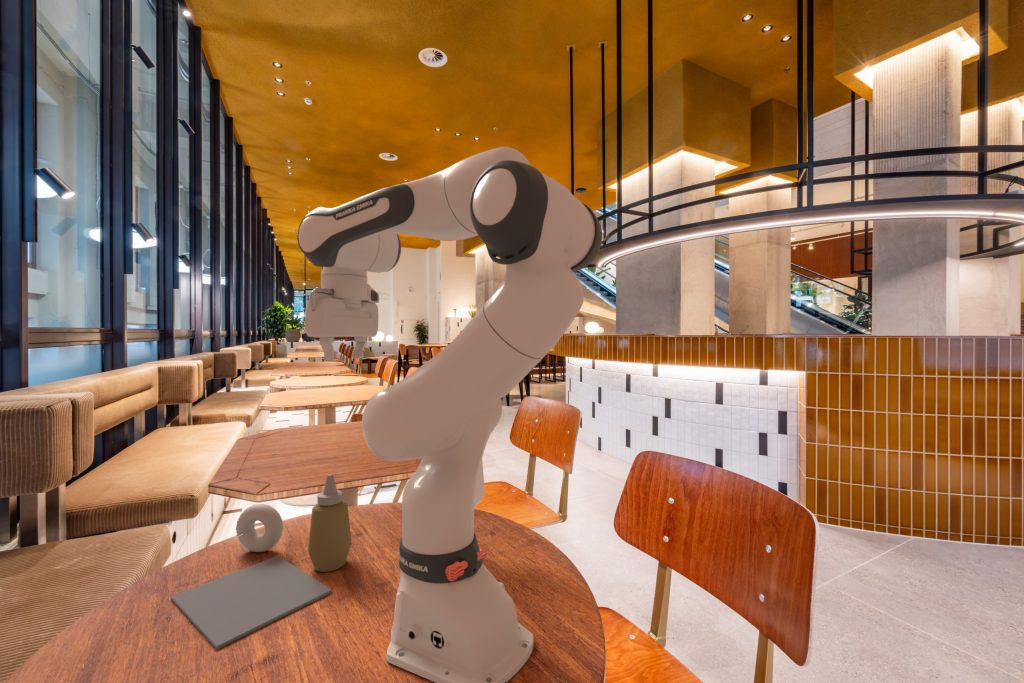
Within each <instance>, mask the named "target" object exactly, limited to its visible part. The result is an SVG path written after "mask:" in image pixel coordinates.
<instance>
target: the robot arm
mask: <svg viewBox="0 0 1024 683" xmlns="http://www.w3.org/2000/svg"><path fill="white" fill-rule="evenodd" d="M296 235H297V238H296V239H297V244H298V246H299V249H300V251H301V253H302V254H303V256H304V257H306V258H307V260H308V261H309V262H310V263H311V264H312V265H313V266H315V267H317V268H319V267H320V268H321V267H322V269H321V272H320V287H319V286H318V287H315V288H314V289H313V290H311V292H309V298H308V301H307V303H306V307H305V308H306V309H305V317H304V332H305V334H306V335H307V337H309V338H312V337H313V338H319V344H320V347H321V350H322V352H323V359H324V360H323V361H325V362H333V361H334V362H335V361H337V360H338V358H337V355H338V352H337V351H335V349H334V346H333V344H334V343H335V341H334V340H335V337H336V338H345V337H346V338H350V337H351V338H354V342H355V344H354V345H355V346H354V349H352V350H351V351H352V352H351V353H352V355H351V357H352V358H353V359H357V360H359V359H363V358H364V350H365V347H366V344H367V342H368V339H367V338H371V337H373V338H374V337H376V335H377V334H378V332H379V308H378V305H377V304H379V303H380V294H379V292H377V291H376V290H375V289H374V288H373V287H372V286H371V285H370V284H369V283H368V272H370V273H377V274H378V273H388V272H389V271H391V270H393V269H394V268H395V266H396V265H398V262H399V261H400V257H401V253H402V244H401V239H400V236H399V235H405V236H407V235H409V236H413V237H419V238H424V239H428V240H429V239H430V240H436V241H442V242H454V241H462V240H467V239H471V238H474V237H476V236H479V238H480V240H481V241H482V242H483V243H484V244H485V247H486V249H487V253H488V256H489V258H490V259H491V261H492V262H493V263H496V264H498V265H502V266H503V265H505V274H504V278H503V280H502V282H501V283H500V285H499V286H498V288H497V289H496V290H495V291H494V292H493V293H492V295H491V296H490V297H489V298H488V299H487V300H486V301H485V303H484V304H483V305H482V306H481V308H480V309H479V310H478V311H477V312H476V314H474V316H473V317H472V318H471V319H470V320H469V322H468V323H467V324H466V325H465V327H464V328H462V330H461V331H460V333H458V334H457V336H456V337H455V338H454V339H453V340H452V341H451V342H450V343H449V344H448V345H446V346H445V347H444V348H443V349H441V350H440V351H439V352H438V353H436V354H435V355H434V356H432V358H430V359H428V360H427V361H426V362H424V363H423V364H422V365H421V366H419V367H417V368H416V370H414V371H413V372H412V373H410V374H409V375H407V376H406V377H404V378H403V379H402V380H401V379H400V381H399V382H396V383H395V384H393V385H391V386H390V387H387V388H386V389H383V390H381V391H379V392H376V393H375V394H374V395H372V396H371V398H369V399H368V401H367V403H366V404H365V407H364V410H363V412H362V416H361V418H362V419H361V430H362V431H361V432H362V435H363V438H364V441H365V443H366V445H367V447H368V448H369V449H370V451H371V452H372V453H373V454H374V455H375V456H376V457H377V458H379V459H380V460H383V461H390V462H391V461H395V462H396V461H410V460H411V461H414V460H419V459H421V461H420V463H419V465H418V467H417V468H416V470H415V472H414V474H412V476H411V477H410V479H408V481H407V483H406V485H405V486H404V489H403V493H402V499H401V500H402V504H401V505H402V506H401V508H402V510H401V511H402V513H401V515H402V520H401V521H402V523H401V524H402V525H401V526H402V528H401V532H402V533H401V534H402V536H401V538H400V540H399V549H398V554H397V555H398V565H399V569H400V578H399V582H398V587H397V591H396V593H395V594H396V595H395V603H394V605H395V606H394V612H393V622H392V627H391V630H390V642H389V644H388V647H387V651H386V657H385V659H386V661H387V663H389V664H392V665H394V666H396V667H398V668H400V669H402V670H405V671H407V672H410V673H413V674H415V675H417V676H420V677H421V678H425V679H427V680H429V681H431V682H434V683H505V682H506V683H508V682H509V681H510V680H511V679H512V677H514V676H515V675H516V674H518V672H519V671H520V670H521V669H522V667H524V665H525V664H526V663H527V661H529V658H530V657H531V654H532V652H533V650H534V646H535V645H534V644H535V643H534V642H535V640H534V634H533V633H532V632H531V631H530V630H529V629H527V628H526V627H524V626H523V625H522V624H521V623H519V621H518V612H517V608H516V604H515V602H514V600H513V598H512V597H511V596H510V595H509V594H508V593H507V590H506V586H505V584H504V583H503V582H500V581H498V580H497V579H496V578H495V577H494V576H493V574H492V573H491V571H490V570H489V569H487V568H488V567H486V565H484V563H483V561H484V560H483V558H484V557H487V555H488V553H486V552H487V551H488V547H484V548H483V549H481V548H480V545H479V541H478V538H477V536H476V533H475V532H474V529H475V526H474V525H475V507H474V498H475V486H476V480H477V475H478V471H479V467H480V463H481V460H482V461H483V456H484V453H485V449H486V447H487V443H488V441H489V439H490V437H491V435H492V433H493V431H494V430H495V429H496V427H497V425H498V424H499V422H500V420H501V418H502V413H503V405H502V398H503V397H506V396H507V395H508V394H509V393H511V391H512V390H514V389H515V388H516V387H517V385H519V384H520V383H521V381H523V379H524V378H525V377H526V376H528V374H529V373H531V371H532V370H533V369H534V368H535V367H536V366H537V365H538V364H539V363H540V362H541V361H542V360H543V358H545V356H547V354H548V353H549V352H550V351H551V350H552V349H553V348H554V346H555V345H556V344H557V343H558V342H559V341H560V340H561V339H562V337H563V335H564V334H565V333H566V332H567V330H568V328H569V327H570V326H571V324H572V323H573V321H574V320H575V318H576V317H577V315H578V313H579V312H580V310H581V308H582V306H583V304H584V300H585V295H584V294H585V292H584V288H583V285H582V283H581V281H580V279H579V277H578V276H577V274H576V273H575V272H578V271H580V270H583V269H585V268H586V267H588V266H589V265H590V264H591V263H592V262H593V261H594V260H595V259H596V257H597V256H598V254H599V252H600V249H601V246H602V242H603V229H602V226H601V223H600V221H599V219H598V217H597V215H596V214H595V213H594V211H593V210H592V209H591V208H590V207H589V206H588V205H587V204H586V203H583V202H582V201H581V200H580V199H578V198H577V196H575V195H574V194H572V192H571V191H570V189H568V188H567V187H566V186H565V185H563V184H562V183H561V182H558V181H557V180H555V179H554V178H552V177H550V176H548V175H545V174H544V173H542V172H540V170H539V169H537V168H536V167H535V166H533V165H532V164H531V163H530V161H529V160H528V158H526V156H525V155H524V154H523V153H521V151H519V150H517V149H515V148H513V147H509V146H500V147H496V148H492V149H488V150H485V151H482V152H479V153H476V154H474V155H473V154H472V155H470V156H469V157H466V158H463V159H461V160H459V161H457V162H456V163H454V164H452V165H451V166H448V167H447V168H444V169H442V170H440V171H438V172H435V173H433V174H430V175H427V176H424V177H421V178H419V179H415V180H412V181H406V182H403V183H399V184H395V185H391V186H388V187H383V188H380V189H378V190H375V191H372V192H370V193H367V194H365V195H363V196H362V195H361V196H360V197H357V198H355V199H353V200H351V201H349V202H346V203H342V204H341V205H338V206H335V207H332V208H331V207H323V206H319V207H316V208H314V209H313V210H311V211H310V212H309V213H308V214H306V215H305V216H304V217H303V219H302V220H301V221H300V224H299V225H298V229H297V234H296ZM480 549H481V551H480Z"/></svg>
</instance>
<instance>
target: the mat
mask: <svg viewBox="0 0 1024 683" xmlns="http://www.w3.org/2000/svg"><path fill="white" fill-rule="evenodd" d="M331 593H333V592H332V589H331V588H330V587H328V586H326V585H325V584H323V583H321V582H319V581H318V580H317V579H315V578H314V577H312V576H311V575H309V574H307V573H306V572H305V571H302V570H301V569H300V568H298V567H297V566H295V565H293V564H292V563H290V562H289V561H288V560H286V559H284V558H283V557H281V556H279V555H276V556H273V557H270V558H268V559H265V560H262V561H261V562H258V563H255V564H252V565H250V566H248V567H245V568H242V569H240V570H237V571H235V572H232V573H229V574H226V575H225V576H224V575H223V576H221V577H218V578H216V579H213V580H211V581H208V582H206V583H203V584H200V585H197V586H196V587H193V588H190V589H187V590H185V591H181V592H180V593H177V594H175V595H171V596H170V600H171V601H172V603H173V604H174V605H175V606H176V607H177V608H178V609H179V610H180V612H182V613H183V614H184V615H185V617H186V618H187V619H188V620H189V621H190V622H191V623H192V624H193V625H194V627H195V628H196V629H197V630H198V631H199V632H200V634H202V636H203V637H204V638H205V639H206V640H207V641H208V642H209V643H210V644H211V646H212V647H213V649H215V650H219V649H220V648H223V647H225V646H227V645H229V644H231V643H233V642H235V641H237V640H239V639H240V638H243V637H246V636H247V635H249V634H251V633H253V632H256V631H258V630H259V629H261V628H263V627H265V626H267V625H270V624H271V623H273V622H276V621H277V620H280V619H282V618H283V617H285V616H288V615H290V614H291V613H293V612H296V611H297V610H299V609H302V608H304V607H305V606H307V605H310V604H312V603H314V602H315V601H318V600H320V599H322V598H325V597H326V596H327V595H330V594H331Z"/></svg>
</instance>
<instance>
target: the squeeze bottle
mask: <svg viewBox="0 0 1024 683" xmlns="http://www.w3.org/2000/svg"><path fill="white" fill-rule="evenodd" d="M324 482H325V483H324V488H323V491H321V492H318V494H317V495H316V496H317V497H316V498H317V500H316V502H317V503H316V504H315V505H314V506H313V507H312V509H311V518H310V528H309V537H308V543H307V544H308V546H307V552H308V555H309V557H310V560H311V563H312V566H313V568H314V570H316V571H317V572H320V573H321V572H323V573H327V572H332V571H336V570H339V569H341V568H342V567H344V565H345V564H346V563H347V559H348V556H349V553H350V550H351V547H352V533H351V523H350V517H349V506H348V503H347V502H346V500H345V501H344V499H343V497H344V496H343V491H342V490H340V489H337V486H336V480H335V477H334V473H333V474H332V473H331V474H327V475H326V478H325V481H324Z"/></svg>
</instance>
